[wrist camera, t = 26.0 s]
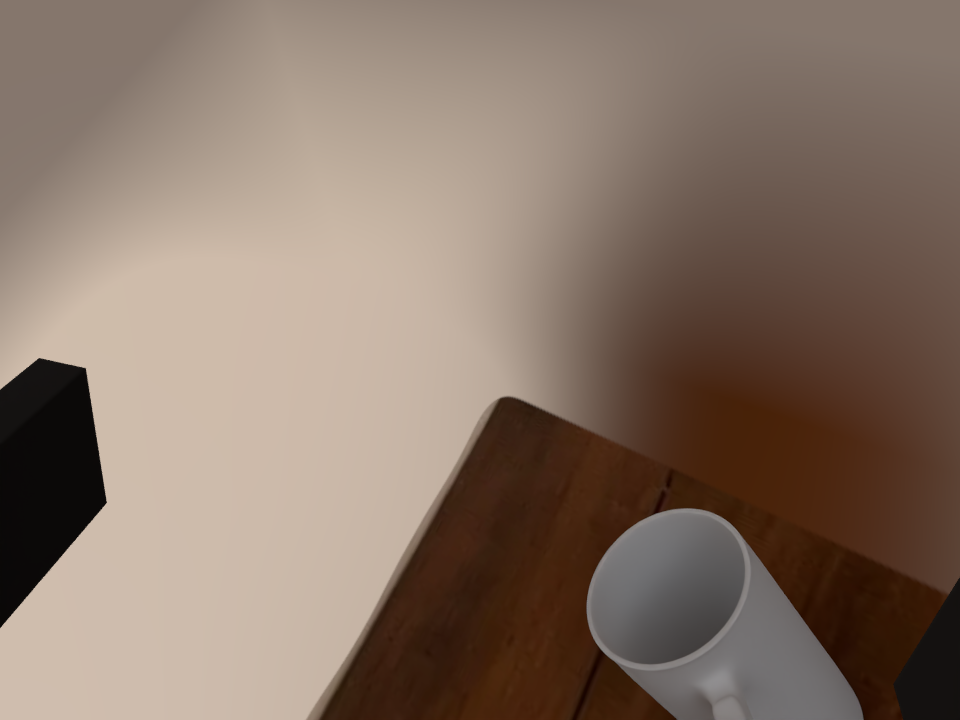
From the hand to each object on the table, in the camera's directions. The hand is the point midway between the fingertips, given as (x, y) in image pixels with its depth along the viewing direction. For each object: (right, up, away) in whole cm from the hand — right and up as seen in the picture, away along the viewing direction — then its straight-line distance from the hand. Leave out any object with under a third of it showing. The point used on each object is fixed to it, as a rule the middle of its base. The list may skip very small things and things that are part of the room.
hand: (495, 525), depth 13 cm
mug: (+14, -15, +23) cm, 31 cm away
